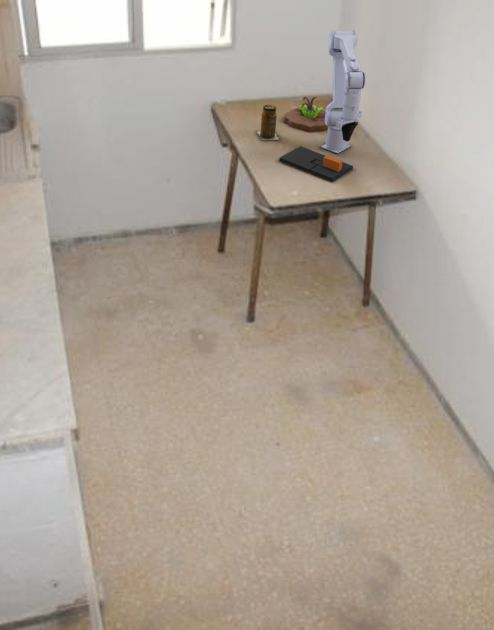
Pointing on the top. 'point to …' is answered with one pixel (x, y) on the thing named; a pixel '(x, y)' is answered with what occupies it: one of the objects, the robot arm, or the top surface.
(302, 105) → the plant
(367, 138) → the top surface
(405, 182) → the top surface
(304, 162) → the black pad
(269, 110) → the condiment
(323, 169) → the charcoal pad
